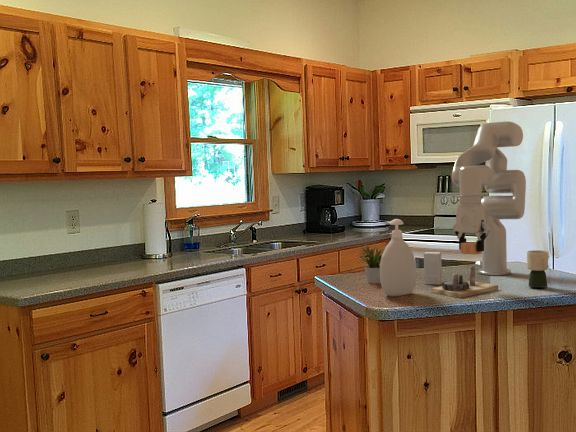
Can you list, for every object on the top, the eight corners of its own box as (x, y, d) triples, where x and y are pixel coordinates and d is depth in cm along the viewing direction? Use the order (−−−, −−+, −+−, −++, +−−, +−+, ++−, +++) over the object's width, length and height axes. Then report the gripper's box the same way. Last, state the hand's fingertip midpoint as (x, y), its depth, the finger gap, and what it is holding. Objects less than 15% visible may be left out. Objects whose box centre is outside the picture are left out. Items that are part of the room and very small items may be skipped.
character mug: (556, 290, 205) (555, 253, 204) (537, 291, 204) (536, 254, 203) (538, 284, 216) (538, 249, 215) (520, 285, 215) (520, 250, 214)
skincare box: (442, 282, 226) (441, 251, 225) (440, 285, 222) (439, 253, 221) (426, 282, 229) (425, 251, 228) (424, 284, 225) (423, 253, 224)
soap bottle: (408, 290, 216) (405, 216, 214) (421, 294, 208) (419, 217, 206) (373, 295, 210) (371, 219, 208) (386, 299, 203) (383, 220, 201)
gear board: (431, 292, 210) (430, 268, 210) (469, 284, 221) (468, 262, 220) (459, 298, 199) (459, 273, 199) (498, 289, 210) (497, 265, 209)
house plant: (347, 284, 231) (346, 243, 229) (359, 278, 243) (357, 239, 242) (383, 286, 224) (381, 243, 223) (393, 279, 237) (391, 239, 236)
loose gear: (456, 253, 212) (456, 243, 212) (470, 251, 216) (470, 241, 216) (472, 254, 206) (472, 244, 206) (486, 252, 210) (486, 243, 210)
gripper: (444, 201, 215) (445, 249, 216) (483, 201, 201) (484, 253, 202) (458, 200, 219) (459, 247, 220) (497, 200, 205) (498, 251, 206)
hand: (471, 250), depth 211 cm, fingers closed on loose gear, 7 cm apart
